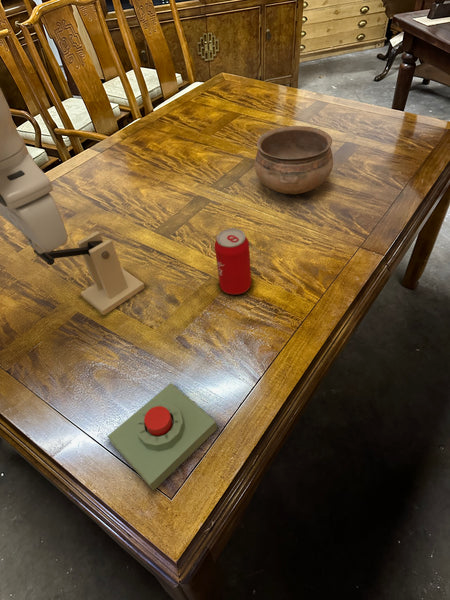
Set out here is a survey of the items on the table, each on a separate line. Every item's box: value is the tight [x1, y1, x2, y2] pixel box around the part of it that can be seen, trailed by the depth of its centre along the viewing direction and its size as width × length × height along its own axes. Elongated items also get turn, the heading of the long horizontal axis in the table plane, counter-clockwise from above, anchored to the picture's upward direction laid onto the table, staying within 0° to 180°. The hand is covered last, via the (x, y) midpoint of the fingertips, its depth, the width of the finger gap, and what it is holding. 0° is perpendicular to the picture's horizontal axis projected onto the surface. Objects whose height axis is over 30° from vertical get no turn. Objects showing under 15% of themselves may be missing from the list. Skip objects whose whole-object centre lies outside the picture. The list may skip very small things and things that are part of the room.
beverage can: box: [214, 228, 252, 295], centre depth 78 cm, size 6×6×12 cm
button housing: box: [107, 382, 218, 492], centre depth 60 cm, size 12×10×4 cm
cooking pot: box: [254, 125, 334, 196], centre depth 103 cm, size 25×19×12 cm
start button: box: [144, 406, 172, 436], centre depth 58 cm, size 4×4×2 cm
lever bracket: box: [76, 230, 146, 316], centre depth 80 cm, size 10×8×13 cm
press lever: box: [33, 240, 104, 266], centre depth 73 cm, size 12×5×2 cm, turn 135°
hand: (40, 248), depth 68 cm, fingers closed
